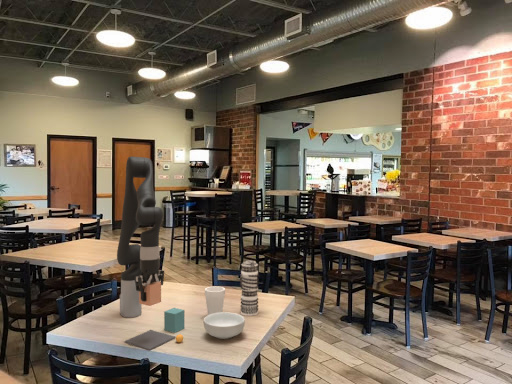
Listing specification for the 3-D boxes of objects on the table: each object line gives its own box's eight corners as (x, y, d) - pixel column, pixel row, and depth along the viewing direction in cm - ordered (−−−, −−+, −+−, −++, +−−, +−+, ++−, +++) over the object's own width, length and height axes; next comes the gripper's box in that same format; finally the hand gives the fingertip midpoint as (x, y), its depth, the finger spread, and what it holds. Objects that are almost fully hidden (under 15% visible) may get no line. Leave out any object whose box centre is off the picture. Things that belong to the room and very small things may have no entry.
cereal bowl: (210, 346, 159) (210, 328, 158) (198, 331, 174) (198, 315, 174) (251, 339, 165) (251, 322, 165) (236, 325, 181) (236, 309, 180)
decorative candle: (261, 310, 201) (261, 259, 200) (256, 316, 192) (256, 263, 191) (243, 308, 203) (243, 258, 202) (237, 315, 194) (237, 262, 193)
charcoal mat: (124, 342, 162) (124, 341, 162) (150, 331, 174) (150, 329, 174) (149, 350, 154) (149, 349, 154) (175, 338, 166) (175, 336, 166)
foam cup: (221, 320, 187) (221, 292, 186) (202, 319, 188) (202, 291, 188) (227, 313, 196) (227, 286, 195) (208, 312, 198) (208, 285, 197)
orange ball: (174, 342, 162) (174, 335, 162) (179, 339, 165) (179, 332, 164) (179, 344, 160) (179, 336, 160) (184, 341, 163) (184, 334, 163)
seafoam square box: (164, 330, 175) (164, 311, 175) (174, 325, 180) (174, 307, 180) (174, 332, 172) (174, 314, 172) (184, 328, 177) (184, 310, 177)
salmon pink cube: (139, 303, 162) (139, 283, 162) (150, 299, 168) (150, 280, 167) (150, 306, 159) (149, 285, 159) (161, 302, 164) (161, 282, 164)
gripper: (156, 253, 171) (156, 293, 171) (129, 259, 159) (129, 302, 159) (169, 255, 167) (169, 296, 168) (142, 261, 155) (143, 305, 155)
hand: (150, 298), depth 163 cm, fingers closed on salmon pink cube, 6 cm apart
